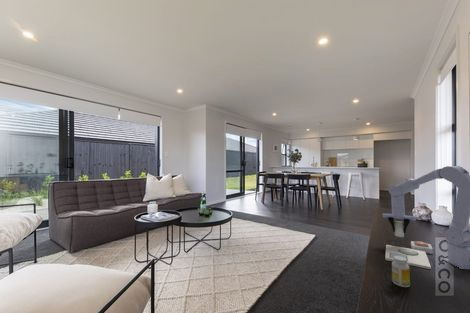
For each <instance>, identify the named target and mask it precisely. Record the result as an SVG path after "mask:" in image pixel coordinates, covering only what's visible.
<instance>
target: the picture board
mask: <svg viewBox="0 0 470 313" xmlns="http://www.w3.org/2000/svg"><path fill="white" fill-rule="evenodd" d="M394 256H401V257H404V258H406V259H407V265H408V266H412V267H413V266H414V267H417V268H422V269H427V270H432V267H431V264H430V260H429V258H428V256H427V253H426V252H425V251H420V250H414V249H412V248H407V247H401V246H395V245H390V244H386V245H385V259H384V260H385V261H389V262H394Z"/></svg>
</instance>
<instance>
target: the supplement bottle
mask: <svg viewBox="0 0 470 313" xmlns="http://www.w3.org/2000/svg"><path fill="white" fill-rule="evenodd" d="M410 272H411V270H410V265H407V259H406V258H404V257H401V256H394V262H393V261H391V280H392V282H393V284H394V285H396V286H399V287H401V288H402V287H403V288H409V287H410V286H411V274H410Z"/></svg>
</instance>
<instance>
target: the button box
mask: <svg viewBox="0 0 470 313" xmlns="http://www.w3.org/2000/svg"><path fill="white" fill-rule="evenodd" d="M415 242H416V241H415V240H414V241H413V240H411V241H410V247H411V249H414V250H420V251H425V252H426V254H431V255H434V249H433V247H432V244H430V243H427V247H422V246H417V245H416V243H415Z"/></svg>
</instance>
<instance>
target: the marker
mask: <svg viewBox="0 0 470 313" xmlns="http://www.w3.org/2000/svg"><path fill="white" fill-rule="evenodd" d="M394 228H395V232H394V236H396V237H397V238H405V233H404V221H399V220H394Z"/></svg>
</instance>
